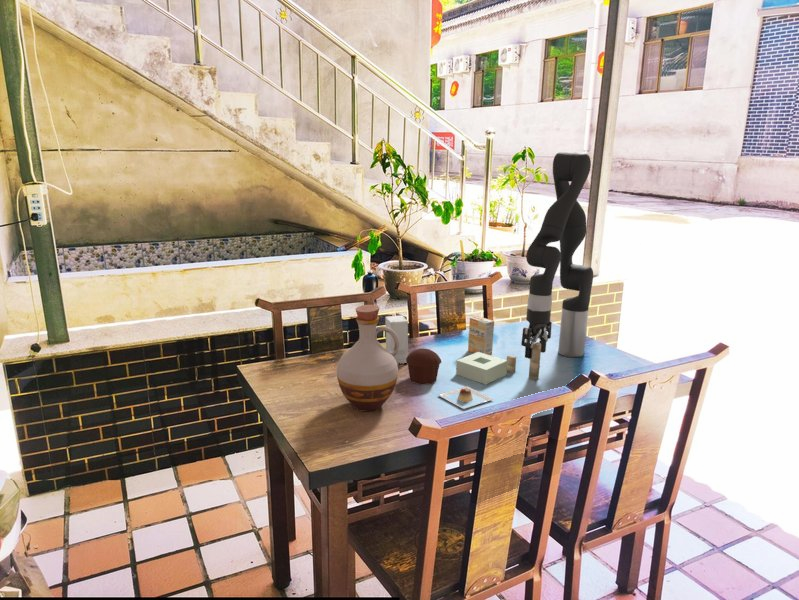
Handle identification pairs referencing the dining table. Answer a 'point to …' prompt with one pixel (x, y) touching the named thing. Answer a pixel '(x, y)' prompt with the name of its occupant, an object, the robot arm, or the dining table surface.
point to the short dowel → (511, 363)
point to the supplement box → (481, 335)
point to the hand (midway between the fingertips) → (535, 355)
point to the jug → (368, 364)
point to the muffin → (423, 366)
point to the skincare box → (401, 330)
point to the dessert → (465, 395)
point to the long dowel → (535, 361)
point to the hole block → (481, 367)
